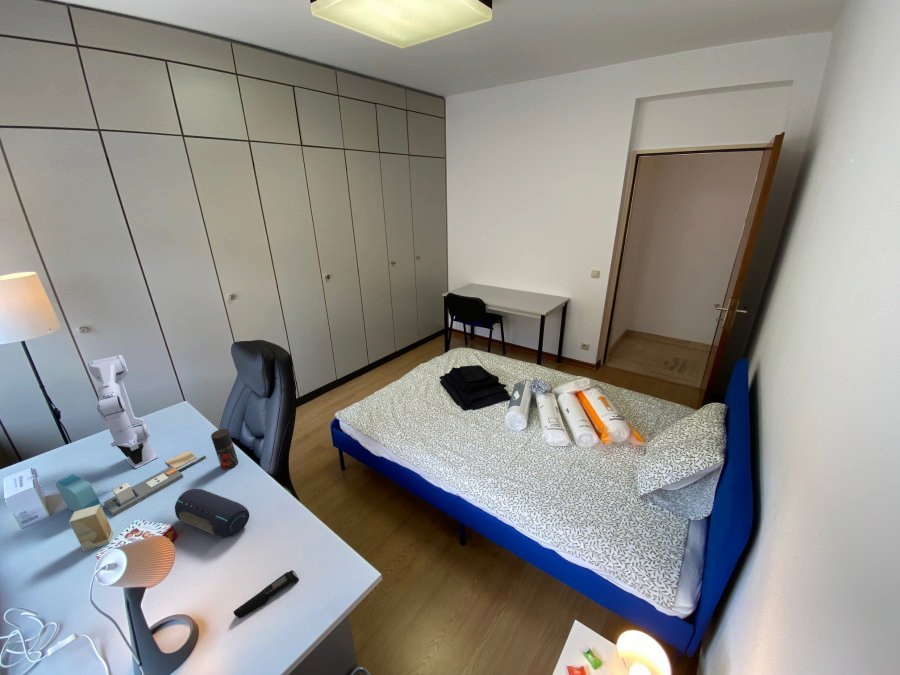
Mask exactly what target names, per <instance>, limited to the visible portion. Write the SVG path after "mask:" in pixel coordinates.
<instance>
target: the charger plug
mask: <svg viewBox="0 0 900 675" xmlns="http://www.w3.org/2000/svg"><path fill="white" fill-rule="evenodd" d="M131 487H132V486H131V485H130V484H129V483H128V482H127V481H125V482H123V483H121V484H119V485H117V486H116V487H114V488H111V491H112V492H113V495H114V496H115V497H116V499H117V501H116V502H117V503H118V504H119V506H122V505H123V504H125V503H127V502H129V501H131V500H132V499H134V498H136V497H137V496H136V495H135V492H133V491H132V489H131Z"/></svg>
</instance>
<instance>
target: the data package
mask: <svg viewBox="0 0 900 675" xmlns="http://www.w3.org/2000/svg"><path fill="white" fill-rule="evenodd" d="M55 487H56V488H57V490H58V492H59V494H60V496H61V497H62V499H63V501H64V503H65V504H66V506H67V507H68V509H69V510H71V511H72V512H73V513H74V512H75V511H79V510H82V509H85V508H88V507H93V506H96V505H99V504H100V505H101V507H102V508H103V506H102V503H101V502H100V501H101V500H100V499H99V498H98V496H97V494H96V492H95V490H94V488H93V485H92V484H91V483H90V482H89V481H88V480H85V479H83V478H82V477H79V476H77V475H76V474H70V475H68V476H67V477H64V478H62V479H60V480H59V481H57V482H55Z"/></svg>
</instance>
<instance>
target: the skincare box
mask: <svg viewBox="0 0 900 675" xmlns="http://www.w3.org/2000/svg"><path fill="white" fill-rule="evenodd" d="M101 505H102V504H101ZM101 505H100V504H99V505H96V506H93V507H88V508H85V509H82V510H79V511H75V512H74V511H73V513H72V515H71V516H70V519H69V521H68V522H69V525H70V526H71V529H72V530H73V533H74V534H75V537H76V539H77V540H78V543H79V544H80V546H81V548H82V550H83V552H86V551H90V550H92V549H93V550H94V549H95V548H99V547H102V546H105V545H108V544H110V542H111V540H112V539H113V536H114V531H113V529H112V526H111V525H110V522H109V520H108V518H107V516H106V514H105V512H104V510H103V506H102V507H101Z"/></svg>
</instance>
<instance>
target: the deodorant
mask: <svg viewBox="0 0 900 675" xmlns="http://www.w3.org/2000/svg"><path fill="white" fill-rule="evenodd" d="M210 437H211V440H212V444H213V447H214V451H215V453H216V456H217V459H218V462H219V464H220V467H221V470H222V471H228V470H232V469H234V468H235V467H236V466H238V465H239V459H238V455H237V453H236V449H235V447H234V444H233V440H232V439H233V438H232V436H231V434H230V430H229V429H228V428H221V429H217V430H215V431H214V432H212V433H211V435H210Z"/></svg>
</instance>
